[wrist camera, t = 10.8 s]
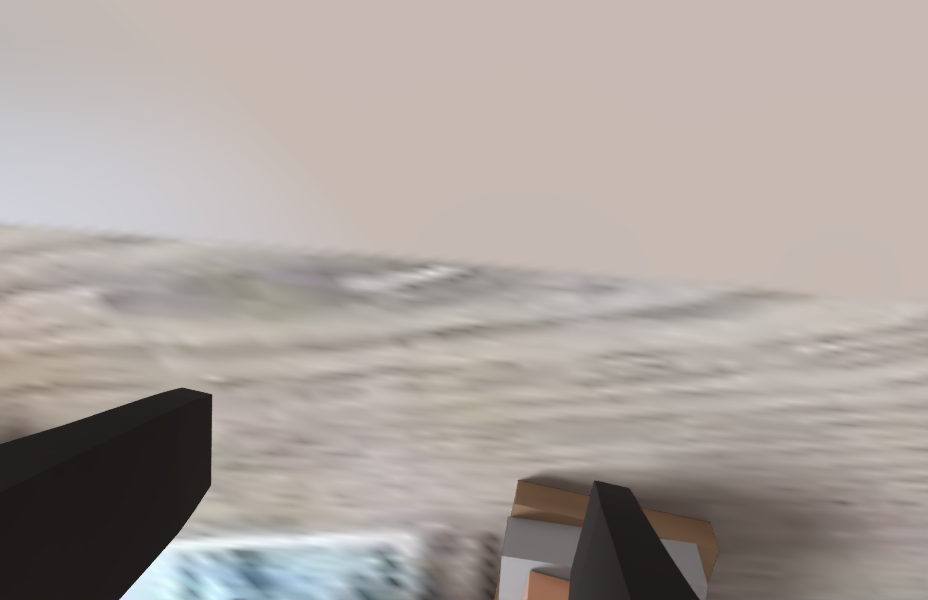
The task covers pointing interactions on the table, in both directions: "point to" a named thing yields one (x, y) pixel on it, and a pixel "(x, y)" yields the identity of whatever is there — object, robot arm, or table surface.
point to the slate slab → (570, 556)
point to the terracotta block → (545, 587)
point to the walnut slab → (573, 507)
